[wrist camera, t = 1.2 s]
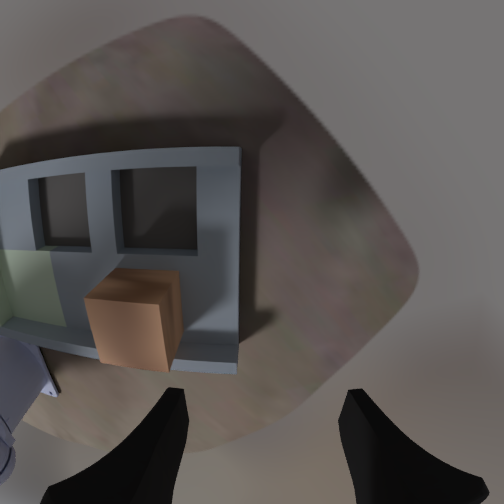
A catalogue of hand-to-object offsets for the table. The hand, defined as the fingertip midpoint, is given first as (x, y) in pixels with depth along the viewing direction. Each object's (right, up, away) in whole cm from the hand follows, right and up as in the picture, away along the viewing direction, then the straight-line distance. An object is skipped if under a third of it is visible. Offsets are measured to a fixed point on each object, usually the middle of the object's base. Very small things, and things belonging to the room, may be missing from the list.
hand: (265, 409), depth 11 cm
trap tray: (-12, +6, +9) cm, 16 cm away
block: (-7, +3, +8) cm, 12 cm away
